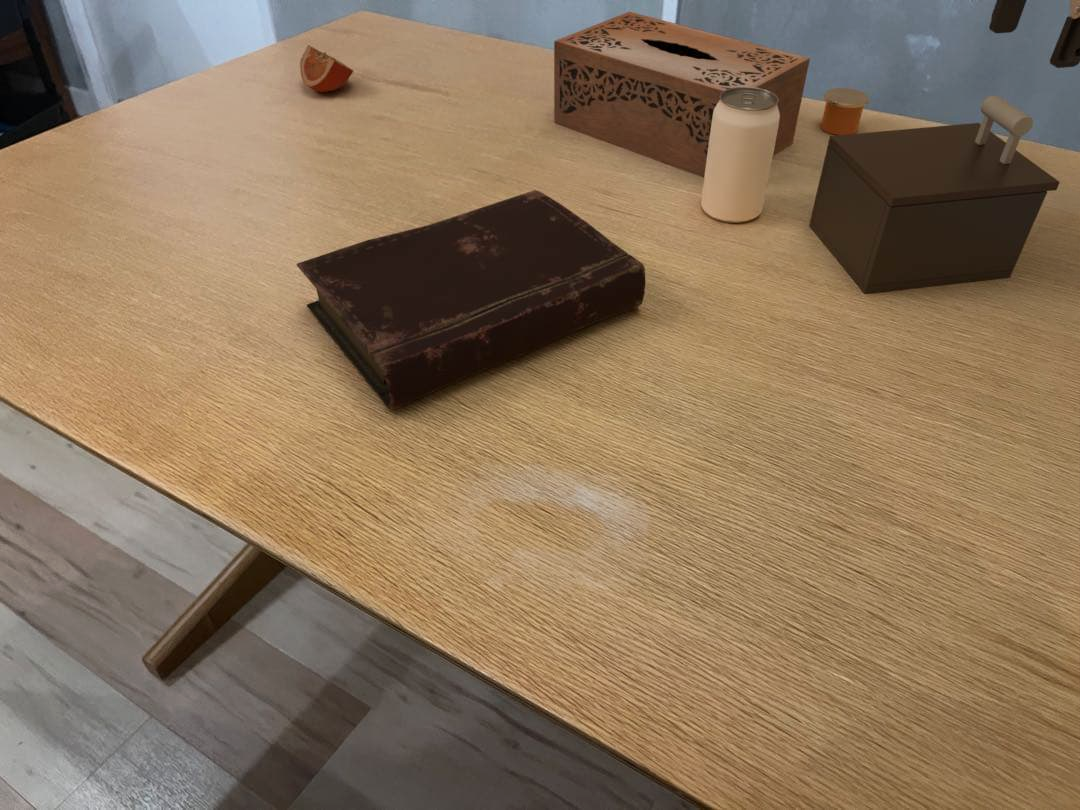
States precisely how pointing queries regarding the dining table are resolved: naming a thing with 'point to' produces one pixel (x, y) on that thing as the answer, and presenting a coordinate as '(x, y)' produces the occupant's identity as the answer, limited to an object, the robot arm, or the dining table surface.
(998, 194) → the lid
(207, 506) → the dining table surface
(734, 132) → the can
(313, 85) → the fruit slice
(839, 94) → the cylinder
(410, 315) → the diary
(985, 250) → the dark brown storage bin
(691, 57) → the tissue box cover
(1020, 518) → the dining table surface
